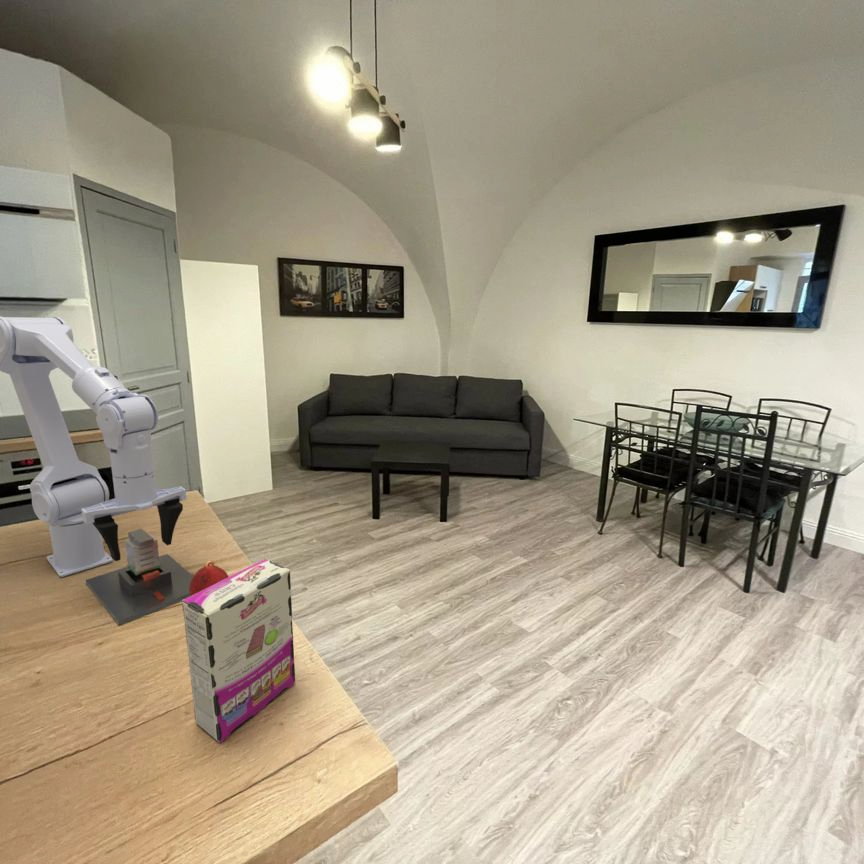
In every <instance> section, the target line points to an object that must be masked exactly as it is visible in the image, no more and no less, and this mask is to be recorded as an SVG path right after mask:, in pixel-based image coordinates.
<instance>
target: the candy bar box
mask: <svg viewBox="0 0 864 864" xmlns="http://www.w3.org/2000/svg"><path fill="white" fill-rule="evenodd" d="M181 602H182V612H183V621H184V628H185V637H186V638H185V639H186V647H187V655H188V663H189V664H188V665H189V674H190V676H189V677H190V682H191V692H192V702H193V711H194V720H195V724H196V725H197V726H198V727H199V728H200V729H201V730H202V731H204V732H206V733H207V734H208V735H209V736H210V737H211V738H213V739H214V740H215V741H217V742H218V743H219V744H221V743H222V742H224V741H225V740H226V739H228V738H229V737H230V736H231V735H233V733H235V732H236V731H238V730H239V729H240V728H241V727H242V726H243V725H245V724H246V723H248V722H249V721H250V720H251V719H252V718H254V717H255V716H256V715H257V714H258V713H260V712H261V711H262V710H263V709H265V708H266V707H267V706H269V705H270V704H271V703H272V702H273V701H274V700H275V699H277V698H278V697H280V695H282V694H283V693H284V692H286V690H288V689H289V688H291V687H292V686H293V685H294V684H295V683H296V671H295V652H294V647H295V646H294V632H293V630H294V629H293V611H292V610H293V609H292V604H293V603H292V585H291V569H289V568H287V567H285V566H282V565H279V564H277V563H276V562H272V561H271V560H270V559H266V558H265V559H262V560H260V561H258V562H256V563H254V564H252V565H249V566H248V567H246V568H243V569H241V570H239V571H238V572H236V573H234V574H232V575H230V576H228V578H226V579H224V580H222V581H220V582H218V583H216V584H214V585H212V586H210V587H208V588H206V589H204V590H202V591H200V592H198V593H196V594H194V595H192V596H190V597H188V598H186V599H184V600H182V601H181Z"/></svg>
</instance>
